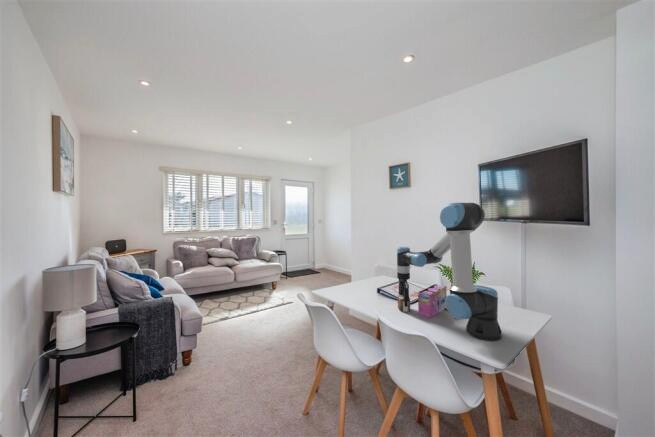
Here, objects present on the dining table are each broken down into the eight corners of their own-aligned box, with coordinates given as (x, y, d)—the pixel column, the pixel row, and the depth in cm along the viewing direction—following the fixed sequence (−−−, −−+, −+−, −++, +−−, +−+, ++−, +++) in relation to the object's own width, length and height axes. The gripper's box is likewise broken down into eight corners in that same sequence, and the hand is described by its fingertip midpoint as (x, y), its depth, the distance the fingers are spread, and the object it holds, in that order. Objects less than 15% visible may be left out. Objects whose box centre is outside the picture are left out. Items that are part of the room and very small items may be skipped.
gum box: (435, 304, 173) (435, 283, 173) (448, 307, 168) (448, 285, 167) (417, 314, 157) (417, 291, 156) (431, 318, 151) (430, 294, 151)
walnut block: (410, 311, 162) (410, 298, 162) (400, 311, 162) (400, 298, 162) (407, 307, 168) (407, 295, 168) (397, 307, 168) (397, 295, 168)
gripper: (414, 276, 154) (415, 315, 155) (405, 268, 174) (405, 303, 175) (401, 276, 154) (402, 315, 155) (393, 268, 174) (393, 303, 175)
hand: (403, 309), depth 165 cm, fingers open, 7 cm apart
